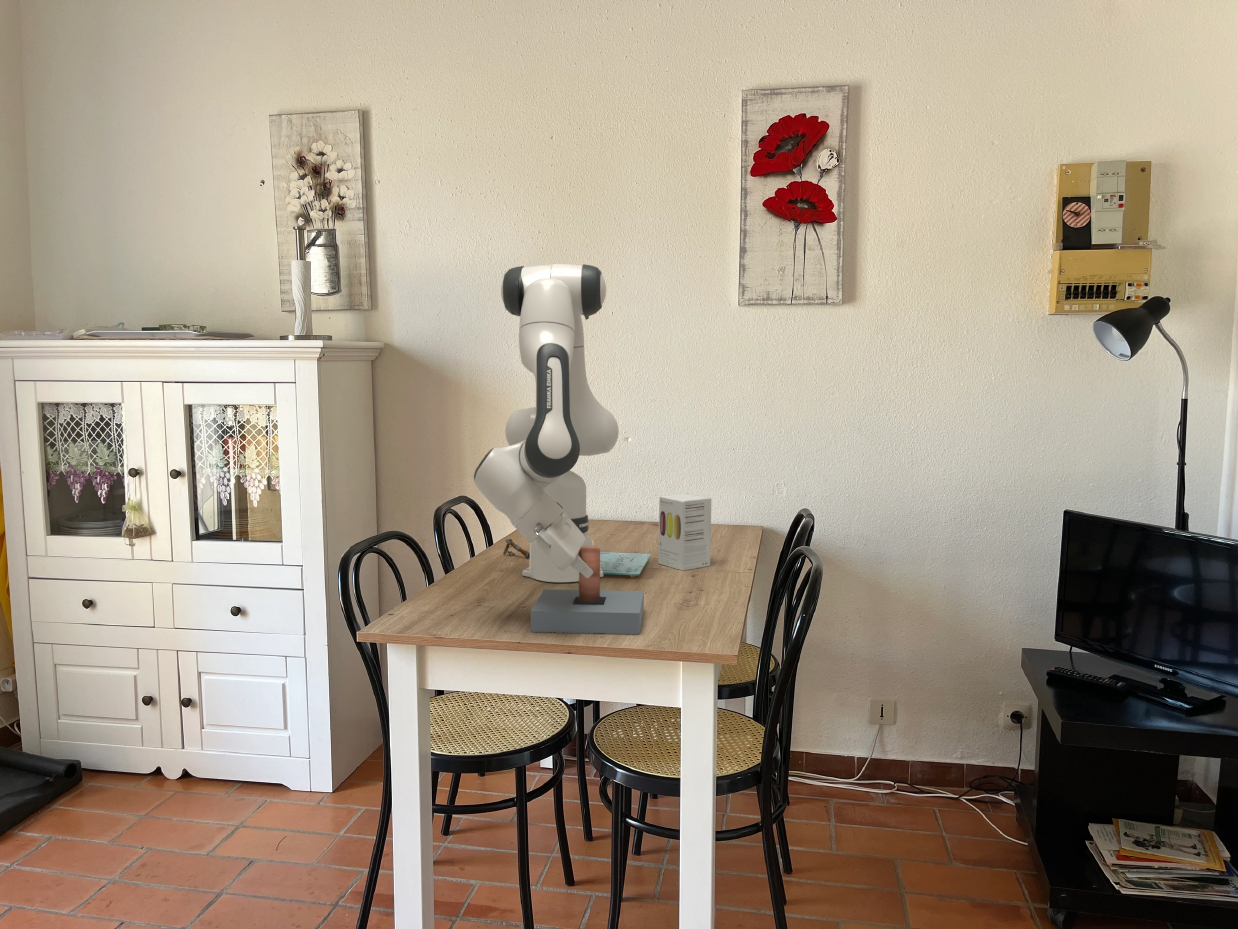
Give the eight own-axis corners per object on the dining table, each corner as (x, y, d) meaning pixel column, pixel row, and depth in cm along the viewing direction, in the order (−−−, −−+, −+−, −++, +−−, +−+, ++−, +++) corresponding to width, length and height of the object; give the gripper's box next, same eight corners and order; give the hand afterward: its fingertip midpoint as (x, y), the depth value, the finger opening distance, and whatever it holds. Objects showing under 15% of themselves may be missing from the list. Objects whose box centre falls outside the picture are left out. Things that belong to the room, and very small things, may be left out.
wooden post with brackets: (503, 551, 237) (508, 536, 236) (526, 566, 234) (532, 551, 233) (498, 552, 235) (504, 537, 234) (522, 568, 232) (528, 552, 231)
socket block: (544, 608, 185) (544, 589, 185) (643, 610, 184) (643, 591, 183) (530, 632, 169) (530, 611, 169) (639, 634, 168) (639, 613, 168)
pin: (580, 596, 178) (580, 545, 177) (600, 597, 178) (601, 546, 177) (577, 601, 174) (577, 549, 173) (598, 602, 174) (599, 550, 173)
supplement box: (657, 563, 226) (657, 495, 224) (685, 559, 231) (686, 492, 230) (682, 571, 218) (683, 500, 216) (711, 566, 224) (712, 497, 222)
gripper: (544, 517, 164) (599, 572, 165) (559, 501, 185) (608, 550, 185) (519, 542, 165) (574, 596, 165) (537, 523, 185) (586, 571, 186)
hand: (592, 572), depth 175 cm, fingers closed on pin, 4 cm apart
